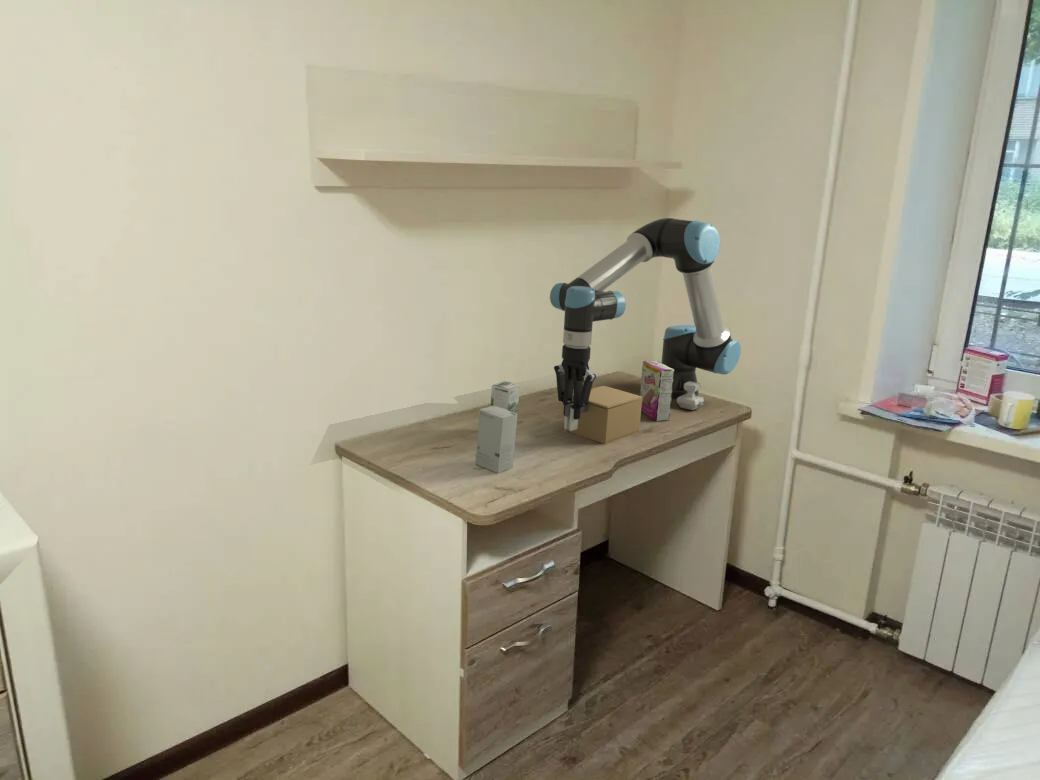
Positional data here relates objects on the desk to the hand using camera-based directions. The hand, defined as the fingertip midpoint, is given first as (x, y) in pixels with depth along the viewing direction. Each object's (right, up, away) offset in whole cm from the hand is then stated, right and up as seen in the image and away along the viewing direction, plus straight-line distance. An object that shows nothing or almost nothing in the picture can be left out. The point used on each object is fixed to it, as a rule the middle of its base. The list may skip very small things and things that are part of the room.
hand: (570, 428), depth 218 cm
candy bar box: (+27, +2, +28) cm, 39 cm away
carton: (+10, -1, +12) cm, 16 cm away
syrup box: (-19, -2, +6) cm, 20 cm away
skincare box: (-20, -9, -18) cm, 28 cm away
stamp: (+41, +5, +37) cm, 55 cm away
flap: (+7, +5, +6) cm, 11 cm away
